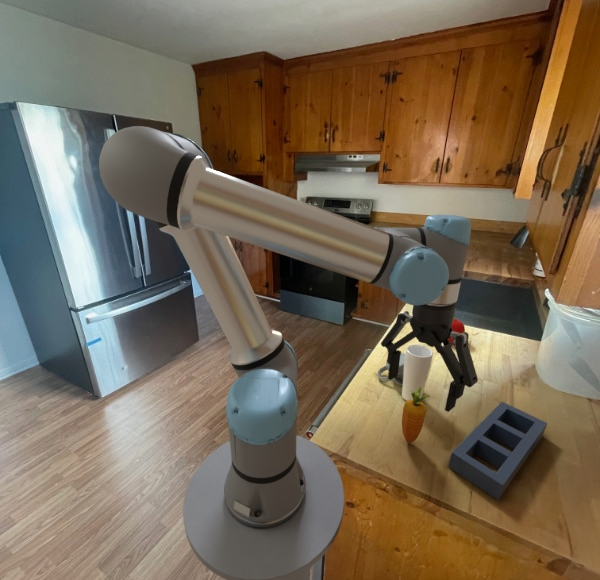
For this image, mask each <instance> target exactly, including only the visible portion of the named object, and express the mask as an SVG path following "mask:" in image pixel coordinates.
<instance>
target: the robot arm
mask: <svg viewBox="0 0 600 580" xmlns="http://www.w3.org/2000/svg"><path fill="white" fill-rule="evenodd" d="M98 169H99V176H100V179H101V181H102V184H103V186H104V188H105V189H106V191H107V193H108V194H109V195H110V197H111V198H112V199H113V200H114V201H115V202H116V203H117V204H118V205H119V206H120V207H122V208H123V209H125V210H126V211H128V212H130V213H132V214H134V215H136V216H139V217H142V218H144V219H148V220H151V221H154V223H155V224H156V227H158V230H159V231H161V232H162V233H165V234H168V235H170V236H172V237H173V239H174V241H175V243H176V244H177V247H178V248H179V250H180V251H181V254H182V255H183V257H184V260H185V261H186V263H187V265H188V267H189V269H190V271H191V273H192V274H193V276H194V278H195V280H196V282H197V284H198V286H199V288H200V290H201V292H202V294H203V296H204V298H205V299H206V301H207V303H208V305H209V307H210V309H211V311H212V313H213V314H214V316H215V318H216V320H217V322H218V325H219V326H220V328H221V330H222V332H223V334H224V336H225V337H226V340H227V341H228V343H229V345H230V347H231V350H230V352H229V355H228V360H229V362H230V364H231V366H232V368H233V370H234V372H235V373H236V375H237V377H238V378H237V379H235V381H234V382H233V383H232V385H231V386H230V388H229V390H228V392H227V396H226V405H225V414H226V420H227V428H228V435H229V441H230V448H231V458H232V463H231V466H230V469H229V472H228V475H227V477H226V480H225V485H224V495H225V503H226V506H227V509H228V511H229V512H230V514H231V515H232V517H233V518H234V519H235V520H237V521H238V522H239V523H241V524H243V525H245V526H247V527H250V528H255V529H269V528H273V527H277V526H279V525H281V524H283V523H285V522H287V521H288V520H290V519H291V518H292V517H293V516H294V515H295V514H296V513H297V512H298V510H299V509H300V507H301V505H302V503H303V501H304V497H305V485H306V482H305V475H304V472H303V470H302V467H301V465H300V463H299V460H298V458H297V456H296V437H297V435H298V434H297V433H298V432H297V431H298V430H297V427H298V422H297V421H298V410H299V400H298V399H299V397H298V374H299V362H298V357H297V354H296V352H295V350H294V348H293V346H291V344H290V343H289V342H288V341H286V340H285V339H284V337H283V335H282V333H281V331H279V330H276V329H274V328H273V329H272V328H271V326H270V324H269V322H268V319H267V317H266V315H265V312H264V311H263V309H262V306H261V304H260V302H259V300H258V297H257V296H256V293H255V292H254V289H253V287H252V285H251V283H250V280H249V278H248V276H247V273H246V272H245V269H244V268H243V265H242V264H241V263H242V262H241V261H240V258H239V257H238V254H237V252H236V249H235V248H234V246H233V243H232V241H231V239H235V240H237V241H241V242H243V243H247V244H248V245H252V246H256V247H258V248H261V249H265V250H267V251H270V252H273V253H277V254H280V255H283V256H285V257H289V258H292V259H294V260H298V261H301V262H304V263H307V264H310V265H313V266H316V267H318V268H322V269H325V270H327V271H331V272H334V273H338V274H340V275H343V276H346V277H349V278H351V279H356V280H358V281H360V282H365V283H367V284H370V285H372V286H375V287H378V288H381V289H384V290H387V291H390V292H391V293H392V295H393V296H395V297H396V298H397V299H399V300H400V301H402V303H404V304H407V305H411V306H412V311H411V315H410V312H409V311H408V310H405V311H402V312H399V313H398V314H397V317H396V320H395V323H394V324H393V325H392V327H391V328H390V330H389V331H388V332H387V334H386V335H385V336H384V338H383V339H382V341H381V342H380V345H381V347H382V348H385V349H386V350H387V356H386V357H387V358H386V361H387V363H388V364H390V365H389V371H388V373H387V377H388V379H389V380H392V379H393V378H395V377H396V376H398V369H399V362H400V355H401V352H402V350H399V349H400V348H401V347H403V346H405V345H406V344H407V343H409V342H410V341H413V340H414V339H415V338H416V340H417V341H418V343H421V344H426V345H427V347H431V348H434V349H435V350H436V352H437V353H438V354H439V355H440V356H441V358H442V360H443V362H444V364H445V366H446V368H447V370H448V371H449V374H450V376H451V378H452V379H453V380H452V381H451V382H450V384H449V387H448V393H447V397H446V401H445V407H444V411H445V412H447V413H450V411H452V410H453V409H454V408H455V407H456V404H457V401H458V400H459V399H460V398H461V397H462V396H463V395H464V391H465V388H466V387H467V388H472V387H473V386H474V385H475V384H477V383H478V382H479V378H478V375H477V371H476V368H475V365H474V361H473V357H472V355H471V349H470V347H469V337H470V336H469V333H468V332H467V331H465V332H463V333H458V332H454V331H453V330H452V323H453V319H454V315H455V314H456V310H457V309H456V308H457V304H456V303H457V301H458V299H459V293H460V290H461V289H460V288H461V284H462V277H463V273H464V267H465V263H466V259H467V254H468V249H469V247H470V245H471V244H470V241H471V233H472V222H471V220H470V219H469V218H468V217H465V216H463V215H462V216H461V215H455V214H432V215H428V216H427V217H426V219H425V222H424V224H423V226H420V227H379V226H371V225H368V224H365V223H363V222H359V221H357V220H355V219H351V218H349V217H345V216H344V215H340V214H337V213H335V212H333V211H332V212H331V211H329V210H327V209H323V208H320V207H318V206H315V205H313V204H310V203H307V202H305V201H301V200H299V199H296V198H293V197H290V196H287V195H284V194H282V193H279V192H277V191H274V190H271V189H268V188H265V187H262V186H260V185H256V184H255V183H251V182H249V181H245V180H243V179H240V178H237V177H235V176H233V175H229V174H227V173H223V172H221V171H218V170H215V169H214V167H213V164H212V161H211V160H210V158H209V156H208V154H207V153H206V152H205V151H204V150H203V148H201V147H200V146H199V145H198V144H197V143H196V142H194V141H193V140H191V139H190V138H189V137H187V136H185V135H182V134H179V133H177V132H176V133H174V132H167V131H166V132H165V131H162V130H159V129H156V128H153V127H150V126H143V125H133V126H128V127H124V128H121V129H120V130H117V131H116V132H114V133H113V134H111V136H110V137H109V138H108V139H107V140H106V141H105V142H104V144H103V146H102V149H101V150H100V153H99V159H98ZM230 238H231V239H230ZM407 324H409V325H410V327H411V330H412V331H410V332H408V333H407V334H406V335H405V336H403V337H401V338H400V339H399V340H397V341H395V339H396V338H397V336H398V335H399V334H400V332H402V330H403V329H404V327H405V326H406V325H407ZM449 338H452V339H453V343H450V341H449ZM394 341H395V343H394ZM442 344H443V345H442ZM452 344H453V345H454V346H455V352H456V354H455V352H454V350H453V348H452V346H453V345H452ZM392 381H393V380H392Z"/></svg>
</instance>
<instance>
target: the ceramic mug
mask: <svg viewBox="0 0 600 580" xmlns="http://www.w3.org/2000/svg"><path fill="white" fill-rule="evenodd" d="M404 358H405V353H404V352H402V351H401V355H400V362H399V369H398V376H396V377H395V378H393V379H392V380H389V379H388V376H382V373H384V372H386V371H388V372H389V365H390V364H388V363H387V360H385V361H386V363H385V365H384V366H382V367H380V368H379V369H378V370H377V373H376V374H377V377H378V379H379V381H381V382H382V383H383V382H384V383H388V382H392V381H393V382H394V383H395V384H396V385H398V386H402V387H403V371H404Z"/></svg>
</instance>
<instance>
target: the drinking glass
mask: <svg viewBox="0 0 600 580" xmlns="http://www.w3.org/2000/svg"><path fill="white" fill-rule="evenodd" d="M404 354H405V358H404V371H403V386H402V389H401V396H402V398H403V399H404V400H405V402H406V401H407V400H412V399H413V397H412V395H411V392H412V391H415V395H416V393H417V388H418V387H421V392H420V397H423V396H424V395H423V394H424V390H425V387H426V383H427V380H428V377H429V375H430V371H431V368H432V364H433V357H434V356H433V355H434V352H433V349H431V348H429V346H426V345H421V344H410V345H407V347H406V349H405V353H404Z"/></svg>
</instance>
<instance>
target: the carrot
mask: <svg viewBox="0 0 600 580" xmlns="http://www.w3.org/2000/svg"><path fill="white" fill-rule="evenodd" d="M420 392H421V387H418V388H417V393H416V395H415V391H412V392H411V395H412V397H413V399H412V400H407V401H406V400H405V402H404V405H403V407H402V408H403V409H402V416H401V417H402V418H401V429H402V434H403V438H404V440H405V442H406V443H407V444H408V445H410V444H413V443H414V442H415V441H416V440H417V439H418V437H419V435H420V434H421V431H422V429H423V425H424V423H425V419H426V415H427V411H428V408H427V406H426V405H425V404H424V402H422V401H423V400H424V399H426V398H430V395H429V394H425V395H422V397H420Z"/></svg>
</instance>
